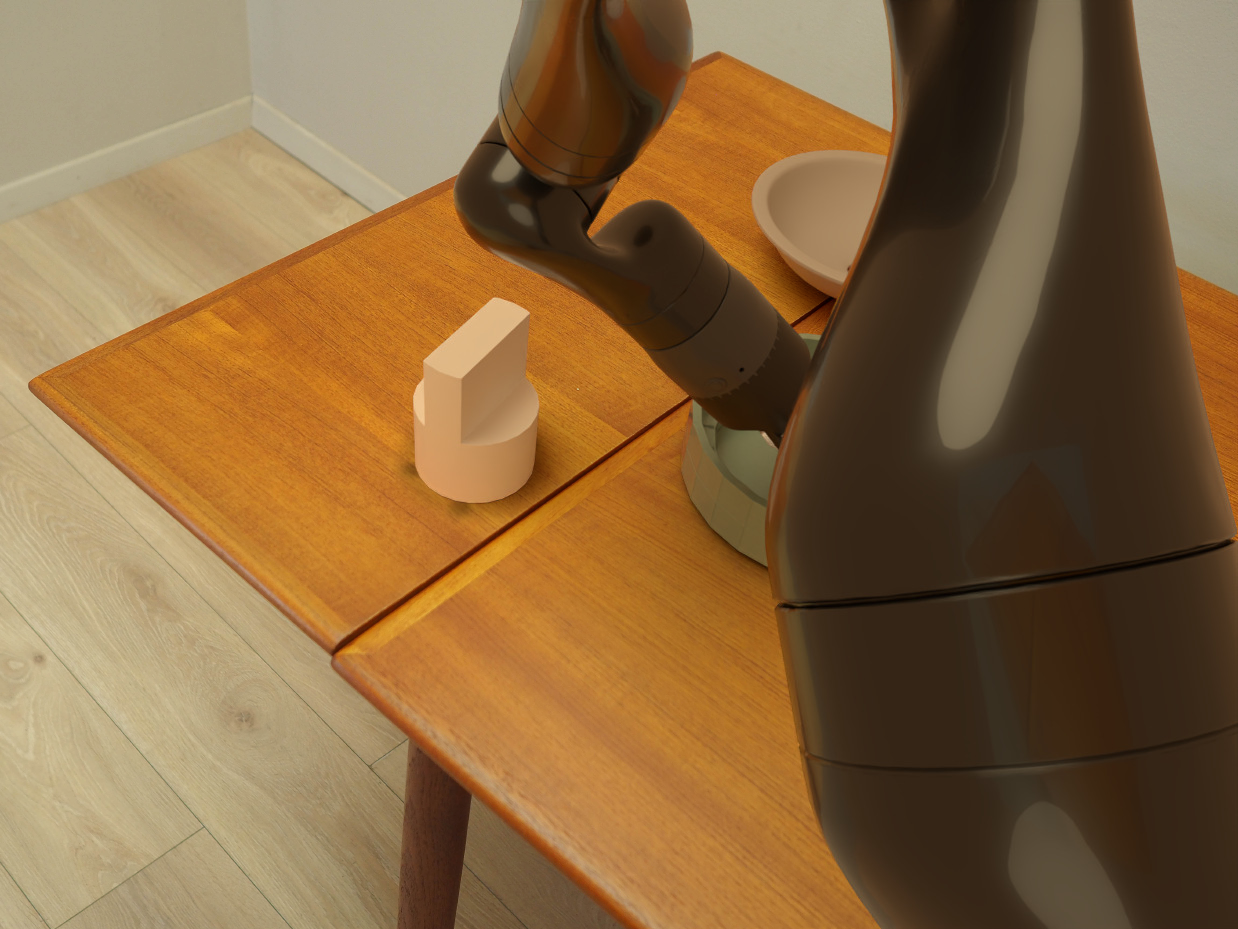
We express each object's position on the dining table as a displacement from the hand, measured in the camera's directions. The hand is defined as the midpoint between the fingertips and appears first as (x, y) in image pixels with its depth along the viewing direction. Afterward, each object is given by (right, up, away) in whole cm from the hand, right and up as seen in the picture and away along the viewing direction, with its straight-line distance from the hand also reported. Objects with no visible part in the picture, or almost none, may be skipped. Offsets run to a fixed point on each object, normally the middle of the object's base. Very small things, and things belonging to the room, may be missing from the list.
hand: (851, 472), depth 75 cm
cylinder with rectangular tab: (-28, +1, +5) cm, 28 cm away
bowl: (-1, -1, +7) cm, 8 cm away
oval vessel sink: (+7, +19, +28) cm, 34 cm away
